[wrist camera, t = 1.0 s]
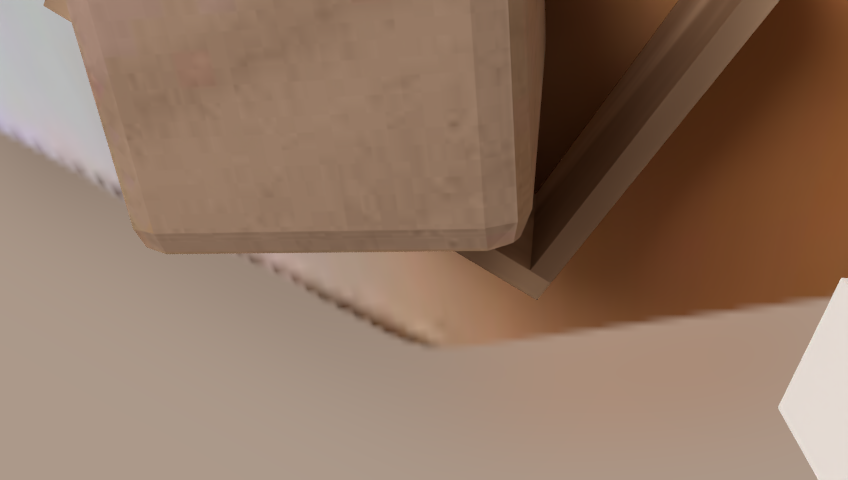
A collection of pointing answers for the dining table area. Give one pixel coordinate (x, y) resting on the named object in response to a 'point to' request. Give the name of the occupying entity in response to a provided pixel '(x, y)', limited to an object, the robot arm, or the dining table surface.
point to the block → (319, 120)
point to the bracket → (617, 135)
